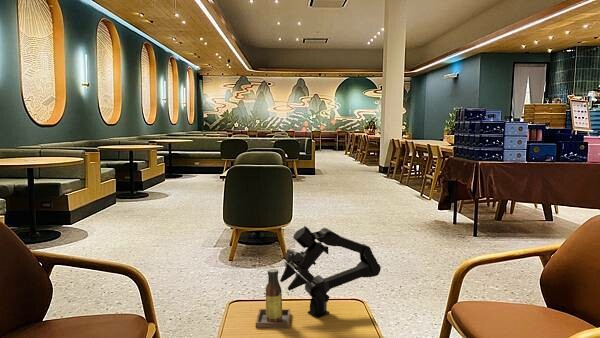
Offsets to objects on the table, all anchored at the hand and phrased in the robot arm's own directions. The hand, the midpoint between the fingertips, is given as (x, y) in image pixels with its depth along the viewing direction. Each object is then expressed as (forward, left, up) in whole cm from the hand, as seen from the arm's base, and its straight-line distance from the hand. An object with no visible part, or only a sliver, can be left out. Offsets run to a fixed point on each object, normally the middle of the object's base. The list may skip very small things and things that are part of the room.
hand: (284, 285), depth 176 cm
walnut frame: (+4, -2, -14) cm, 14 cm away
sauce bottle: (+4, -2, -13) cm, 14 cm away
